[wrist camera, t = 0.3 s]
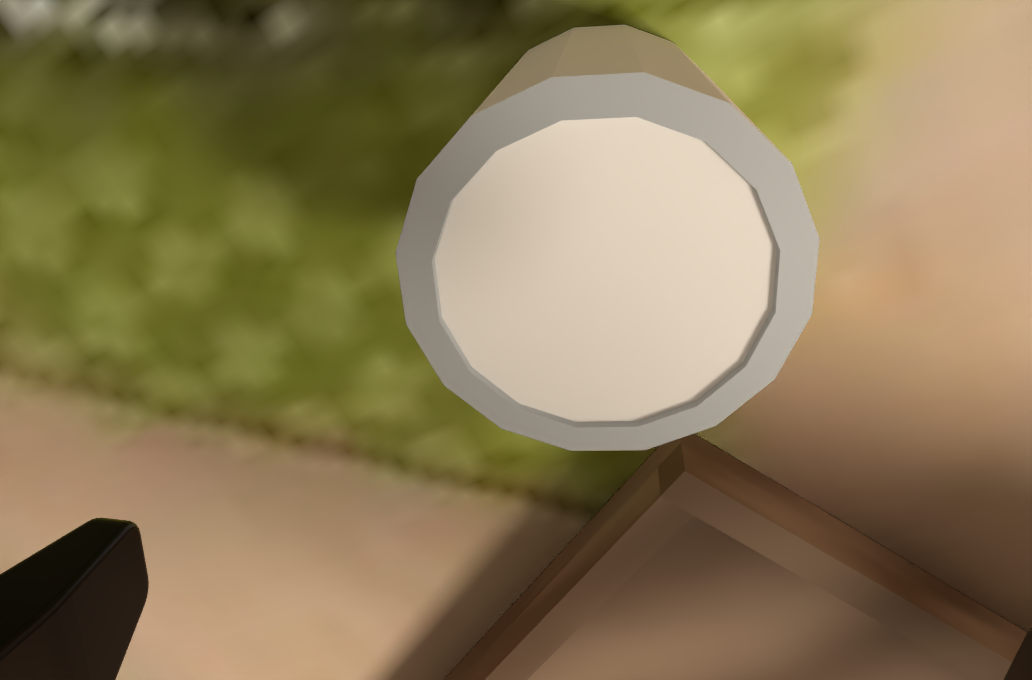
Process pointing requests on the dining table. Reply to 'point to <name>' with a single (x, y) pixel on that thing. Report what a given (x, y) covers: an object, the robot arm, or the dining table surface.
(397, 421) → the dining table surface
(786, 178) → the shot glass
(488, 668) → the walnut tray
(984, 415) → the dining table surface
